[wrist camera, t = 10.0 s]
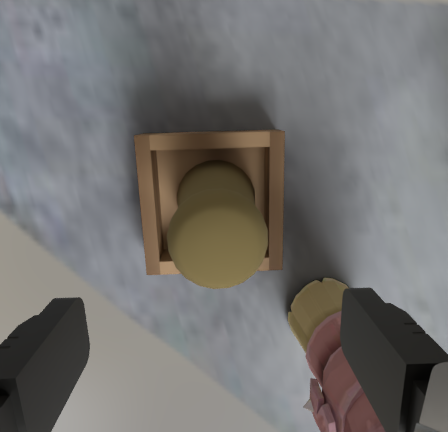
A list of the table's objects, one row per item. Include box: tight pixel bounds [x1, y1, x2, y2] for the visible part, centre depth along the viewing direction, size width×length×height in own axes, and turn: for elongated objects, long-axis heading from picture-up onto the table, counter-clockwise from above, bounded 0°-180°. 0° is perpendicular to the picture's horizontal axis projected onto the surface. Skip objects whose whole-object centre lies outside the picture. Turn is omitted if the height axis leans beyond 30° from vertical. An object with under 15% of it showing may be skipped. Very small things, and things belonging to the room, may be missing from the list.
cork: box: [167, 160, 268, 289], centre depth 22 cm, size 6×6×11 cm
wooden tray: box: [134, 130, 285, 275], centre depth 27 cm, size 10×10×3 cm
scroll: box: [288, 278, 385, 432], centre depth 22 cm, size 8×8×20 cm
